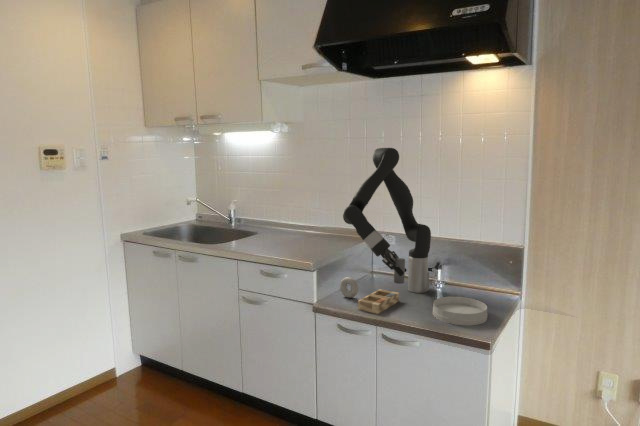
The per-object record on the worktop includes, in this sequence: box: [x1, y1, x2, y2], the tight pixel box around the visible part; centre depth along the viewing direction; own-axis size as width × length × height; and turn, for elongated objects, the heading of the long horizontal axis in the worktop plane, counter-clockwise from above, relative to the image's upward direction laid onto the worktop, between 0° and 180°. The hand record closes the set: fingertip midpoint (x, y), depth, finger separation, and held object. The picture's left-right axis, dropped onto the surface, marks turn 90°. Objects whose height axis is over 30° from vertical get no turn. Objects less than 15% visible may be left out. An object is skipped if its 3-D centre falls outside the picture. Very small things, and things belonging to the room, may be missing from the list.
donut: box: [339, 276, 359, 299], centre depth 220 cm, size 10×4×10 cm, turn 50°
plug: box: [393, 257, 406, 284], centre depth 199 cm, size 4×4×10 cm
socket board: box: [357, 288, 400, 315], centre depth 209 cm, size 20×10×4 cm, turn 145°
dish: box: [432, 296, 488, 326], centre depth 196 cm, size 22×22×5 cm
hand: (403, 273), depth 198 cm, fingers closed on plug, 4 cm apart
